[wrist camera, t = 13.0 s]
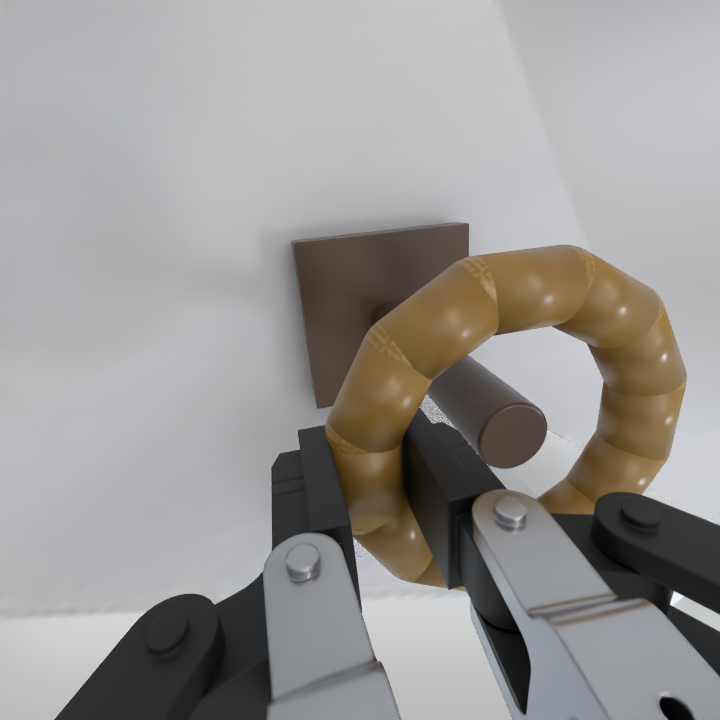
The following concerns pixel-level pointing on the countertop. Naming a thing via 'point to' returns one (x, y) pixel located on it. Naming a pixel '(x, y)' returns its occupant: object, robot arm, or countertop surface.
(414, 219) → the countertop surface
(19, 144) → the countertop surface
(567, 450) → the foam cup
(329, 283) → the post
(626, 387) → the ring
